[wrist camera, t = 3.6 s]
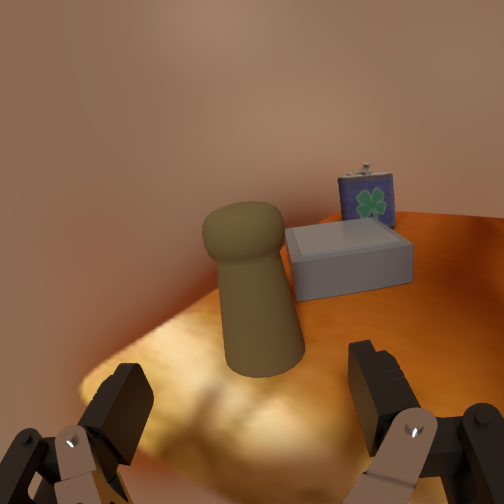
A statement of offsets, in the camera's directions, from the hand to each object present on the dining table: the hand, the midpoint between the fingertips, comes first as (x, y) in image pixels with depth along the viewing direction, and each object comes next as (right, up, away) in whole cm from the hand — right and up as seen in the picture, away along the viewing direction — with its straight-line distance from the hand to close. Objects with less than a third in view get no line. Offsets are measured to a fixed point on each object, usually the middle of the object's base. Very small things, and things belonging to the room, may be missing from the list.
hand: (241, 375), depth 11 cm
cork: (+1, -3, +12) cm, 12 cm away
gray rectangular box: (+11, +3, +23) cm, 25 cm away
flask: (+19, +8, +35) cm, 40 cm away
